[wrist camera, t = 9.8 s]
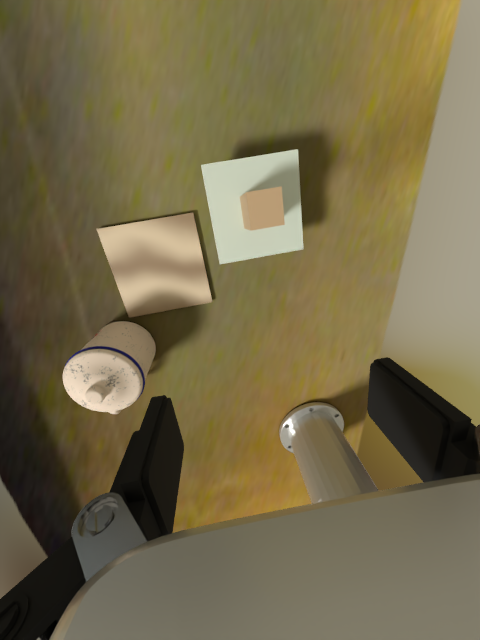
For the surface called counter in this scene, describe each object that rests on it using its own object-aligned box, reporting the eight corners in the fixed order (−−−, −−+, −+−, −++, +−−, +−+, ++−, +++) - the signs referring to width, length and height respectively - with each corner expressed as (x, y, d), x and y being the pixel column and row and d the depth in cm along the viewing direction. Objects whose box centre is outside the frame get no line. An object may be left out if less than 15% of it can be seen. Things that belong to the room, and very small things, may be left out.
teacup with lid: (91, 316, 35) (39, 359, 24) (158, 321, 36) (136, 363, 26) (98, 385, 39) (57, 448, 29) (157, 387, 41) (139, 447, 30)
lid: (299, 247, 30) (321, 254, 24) (219, 262, 30) (221, 273, 24) (294, 152, 26) (317, 133, 21) (201, 167, 26) (199, 153, 20)
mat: (212, 300, 36) (212, 302, 36) (130, 316, 36) (129, 317, 35) (193, 212, 31) (193, 212, 31) (98, 228, 31) (96, 229, 30)
